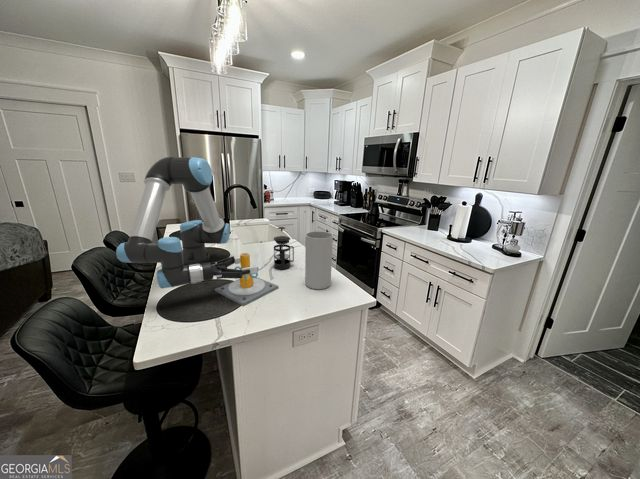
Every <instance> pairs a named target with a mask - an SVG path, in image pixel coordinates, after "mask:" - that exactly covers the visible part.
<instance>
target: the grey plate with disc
mask: <svg viewBox="0 0 640 479" xmlns="http://www.w3.org/2000/svg"><path fill="white" fill-rule="evenodd" d="M277 289H279V285H278V284H275V283H273V282H270V281H267V280H264V279H262V278H260V277H258V276H257V277H256V278H253V286H252V287H249V288H242V287H240V279H239V278H238V279H235V280H233V281H231V282H229V283H226V284H224V285H221V286H219V287H216V288H214V292H215V293H217V294H219V295H221V296H223V297H225V298H227V299H229V300H230V301H233V302H234V303H236V304H239V305H240V306H242V307H245V306H246V305H249V304H250V303H252V302H254V301H256V300H259V299H261V298H262V297H264V296H266V295H268V294H269V293H272V292H274V291H275V290H277Z"/></svg>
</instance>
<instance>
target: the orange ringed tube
mask: <svg viewBox="0 0 640 479" xmlns="http://www.w3.org/2000/svg"><path fill="white" fill-rule="evenodd" d="M250 256H251V255H250V253H248V252H242V253H240V254H239V258H240V262H241V263H240V266H239V265H238V266H235V267H234V269H237V270H242V269H243V268H249V267H255V266H256V265H252V266H251V260H250ZM257 269H258V271H259V270H260V269H259V267H258V266H257ZM258 275H259V273H252V274H247V275H242V278H234V279H235V280H238V279H240V287H242V288H249V287H252V286H253V278H256V277H258Z"/></svg>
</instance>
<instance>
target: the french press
mask: <svg viewBox="0 0 640 479" xmlns="http://www.w3.org/2000/svg"><path fill="white" fill-rule="evenodd" d="M277 229H278V230H280V232H281V234H280V235H278V236H275V237H273V240H274V242H275V243H276V245H273V265H274V266H273V268H274V269H275V270H277V271H285V270H289V269H291V267H292V266H291V263H293V262H294V260H295V254H294V253H295V251H294V248H295V247H294V246H292V245H289V243H290V240H291V238H290V236H284V235H283V230H285V229H286V227H284V226H279V227H277ZM283 247H285V248H283ZM291 248H292V260H291ZM288 251H289V253H288V254H287V253H285V252H288ZM276 252H279V253H278V254H275V253H276Z"/></svg>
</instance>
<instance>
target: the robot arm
mask: <svg viewBox="0 0 640 479" xmlns="http://www.w3.org/2000/svg"><path fill="white" fill-rule="evenodd" d="M212 172H213V171H212V168H211V165H210V164H209V162H208V160H206V159H204V158H202V157H196V156H194V157H193V156H192V157H183V156H180V157H179V156H177V157H175V156H168V157H167V156H165V157H163V158H161V159H159V160H157V161H156V162H155V163H154V164H153V165H152V166H151V167H149V169H148V171H147V173H146V175H145V176H144V177H145V178H144V180H143V182H144V184H145V187H144V190H143V194H142V197H141V199H140V202H139V204H138V205H139V206H138V208H137V212H136V215H135V218H134V221H133V225H132V228H131V231H130V235H129V238H128V240H127V241H126V242H122V243H120V244H119V245H118V246H117V247H116V250H115V254H116V257H117V259H118V260H119V262H122V263H129V264H130V263H132V264H135V263H136V264H137V263H140V264H141V263H143V264H144V263H145V264H146V263H148V264H149V263H151V264H152V263H155V264H158V263H160V264H161V268H160V269H158V270H156V279H157V285H158V287H159V288H160V289H167V288H168V289H169V288H174V287H179V286H185V285H191V284H197V283H201V282H202V281H204V282H206V281H212V280H213V279H214V277H215V276H216V279H217V280H219V279H235V278H238V279H239V278H242V275H247V274H252V273H258V272H259V270H258V269H257V267H258V266H257V265H254V266H255V267H252V266H250V267H249V268H243V269H242V270H240V269H238V268H237V269H235V268H228V267H231V266H232V265H234V264H235V265H239V264H240V265H241V262H240V257H235V256H229V257H226V258H223V259H220V260H216V261H212V262H210V261H209V260H210V254H209V252H208V250H207V248H206V244H209V245H210V244H213V245H217V244H219V245H223V244H227V243H228V242H229V240H230V234H231V225H230V224H229V223H227V222H226V223H225V221H224V219H223V218H222V217H220V215H219V212H218V209H217V206H216V204H215V201H214V198H213V196H212V193H211V190H210V186H211V184H212V181H213V174H212ZM172 185H182V186H183V187H184V188H183V189H184V190H185V191H186V192H187V193H190V195H191V197H192V200H193V202H194V205H195V207H196V209H197V212H198V213H199V216H200V218H201V220H200V219H194V220H190V221H184V222H183V223H181V224H180V225H179V231H180V232H179V234H180V238H179V237H176V236H169V237H168V236H167V237H161V238H160V239H158V241H157V242H153V239H154V236H155V232H156V229H157V225H158V222H159V218H160V216H161V215H160V214H161V211H162V207H163V204H164V201H165V197H166V193H167V192H169V191H170V188H171V186H172ZM208 261H209V262H208ZM258 274H259V273H258ZM252 275H253V274H252Z"/></svg>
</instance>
